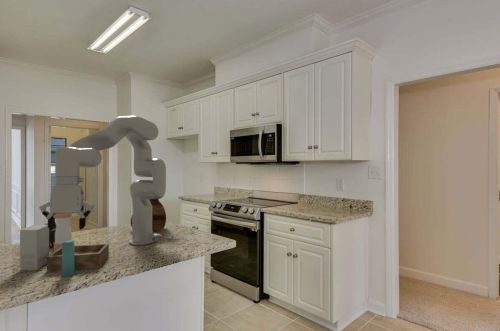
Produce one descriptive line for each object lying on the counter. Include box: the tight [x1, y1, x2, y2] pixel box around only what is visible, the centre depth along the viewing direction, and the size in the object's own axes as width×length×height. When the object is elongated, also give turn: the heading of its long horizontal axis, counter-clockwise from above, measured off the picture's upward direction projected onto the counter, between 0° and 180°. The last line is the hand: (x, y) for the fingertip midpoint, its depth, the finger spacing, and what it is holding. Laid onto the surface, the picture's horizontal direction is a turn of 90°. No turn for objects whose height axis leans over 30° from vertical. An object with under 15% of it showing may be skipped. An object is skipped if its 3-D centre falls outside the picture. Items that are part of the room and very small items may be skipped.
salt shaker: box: [53, 213, 73, 252], centre depth 136 cm, size 7×7×19 cm
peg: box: [61, 239, 76, 278], centre depth 106 cm, size 4×4×12 cm
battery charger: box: [43, 221, 56, 249], centre depth 141 cm, size 7×4×11 cm, turn 140°
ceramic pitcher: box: [130, 199, 167, 232], centre depth 175 cm, size 20×20×30 cm
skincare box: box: [19, 224, 50, 271], centre depth 114 cm, size 8×7×16 cm
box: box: [46, 243, 110, 273], centre depth 118 cm, size 18×14×6 cm
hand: (67, 229), depth 106 cm, fingers open, 9 cm apart
